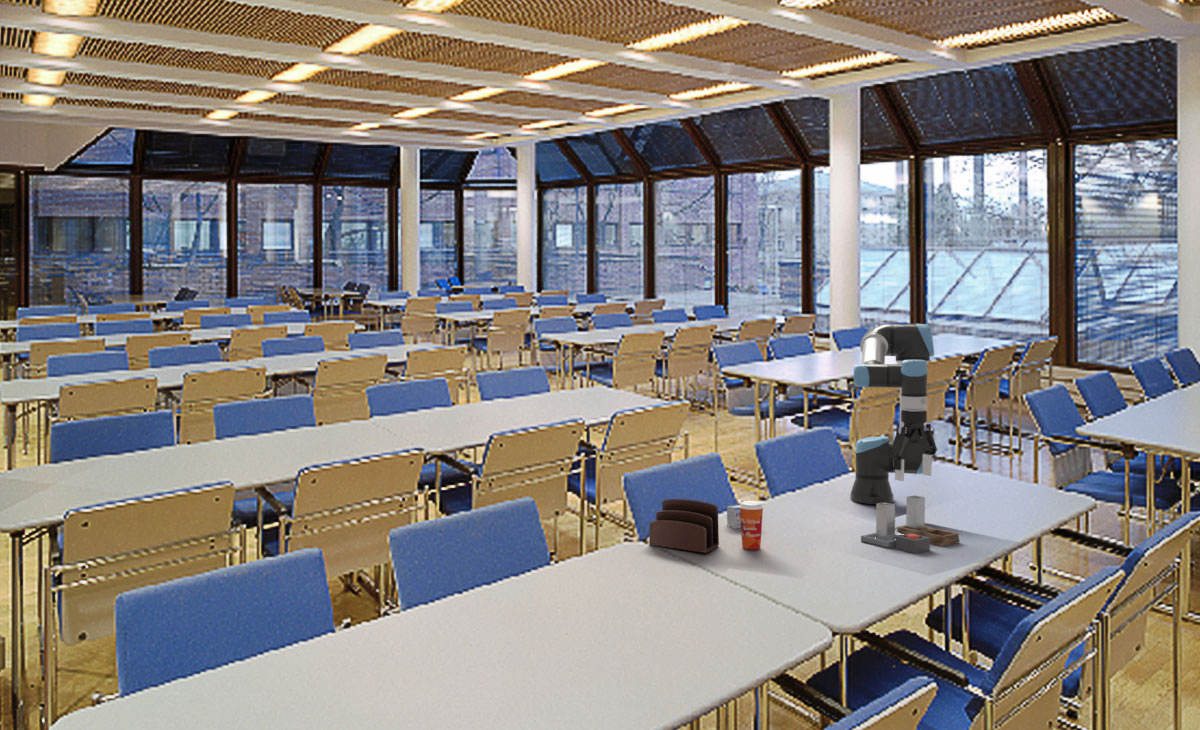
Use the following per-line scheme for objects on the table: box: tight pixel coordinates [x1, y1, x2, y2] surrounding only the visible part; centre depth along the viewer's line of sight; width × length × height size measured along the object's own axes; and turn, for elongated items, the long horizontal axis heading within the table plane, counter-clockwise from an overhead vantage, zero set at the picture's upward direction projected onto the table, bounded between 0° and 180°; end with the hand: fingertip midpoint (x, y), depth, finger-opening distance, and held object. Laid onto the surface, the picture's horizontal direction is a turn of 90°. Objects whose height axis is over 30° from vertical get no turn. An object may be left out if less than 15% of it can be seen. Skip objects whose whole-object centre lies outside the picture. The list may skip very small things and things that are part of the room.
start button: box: [907, 534, 919, 539], centre depth 264 cm, size 4×4×2 cm
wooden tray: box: [896, 524, 961, 548], centre depth 277 cm, size 17×9×3 cm, turn 34°
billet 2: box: [905, 495, 926, 530], centre depth 281 cm, size 4×4×12 cm
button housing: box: [895, 533, 931, 555], centre depth 264 cm, size 7×7×4 cm
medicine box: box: [726, 504, 741, 529], centre depth 290 cm, size 8×4×9 cm, turn 117°
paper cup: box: [738, 500, 765, 550], centre depth 269 cm, size 8×8×14 cm
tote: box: [860, 532, 899, 549], centre depth 273 cm, size 11×11×2 cm
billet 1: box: [875, 502, 896, 542], centre depth 273 cm, size 4×4×12 cm
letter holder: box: [648, 498, 720, 554], centre depth 271 cm, size 10×20×14 cm, turn 58°
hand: (913, 477), depth 267 cm, fingers open, 13 cm apart
